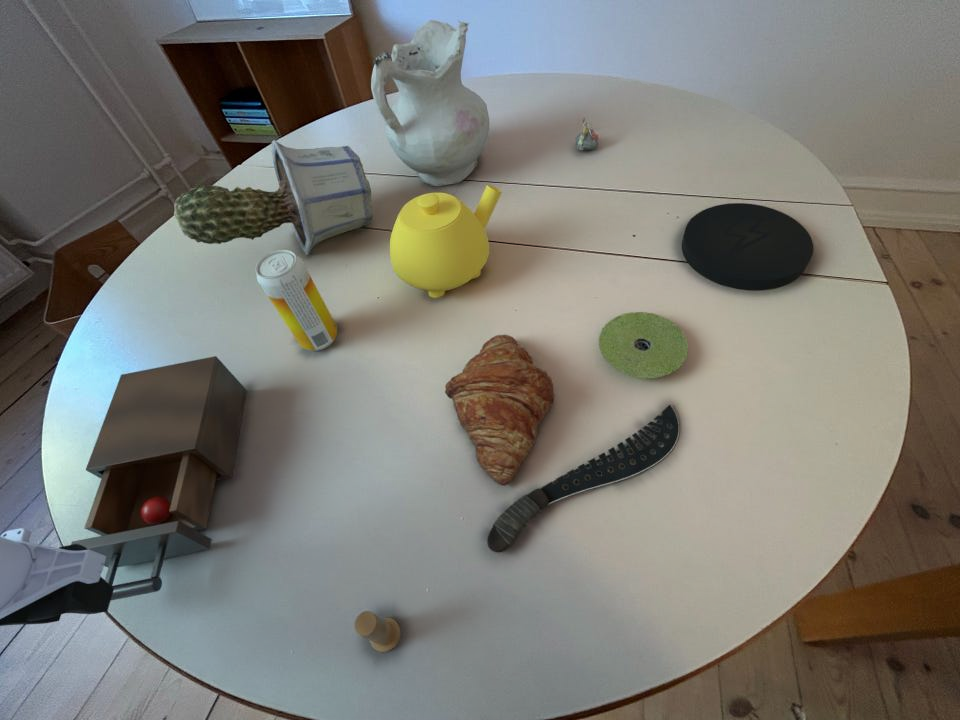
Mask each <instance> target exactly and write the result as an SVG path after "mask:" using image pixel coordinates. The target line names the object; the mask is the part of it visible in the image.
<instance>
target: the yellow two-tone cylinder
mask: <svg viewBox="0 0 960 720" xmlns="http://www.w3.org/2000/svg"><path fill="white" fill-rule="evenodd" d="M255 273H256V280H257V282H258V283H259V285H260V286H261V288H262V290H263V291H264V293H265V294H266V297H268V299H269V300H270V302H271V303H272V305H273V307H274V308H275V309H276V311H277V313H278V314H279V316H280V317H281V318H282V320H283V322H284V324H285V325H286V326H287V328H288V329H289V331H290V332H291V334H292V336H293V337H294V338H295V341H296V342H297V343H298V345H299V346H300V347H301V348H302V349H304V350H308V351H315V352H317V351H322V350H324V349H326V348H328V347H330V346H331V345H332V344H333V343H334V341H335V339H336V338H337V335H338V326H337V323H336V322H335V320H334V317H333V316H332V314H331V313H330V310H329V309H328V307H327V305H326V303H325V301H324V299H323V297H322V296H321V294H320V292H319V290H318V288H317V286H316V284H315V282H314V280H313V279H312V276H311V275H310V273H309V271H308V268H307V267H306V265H305V264H304V262H303V260H302V258H301V257H300V256H298V255H296V254H295V252H294V251H291V250H289V249H278V250H277V249H276V250H274V251H271V252H268V253H267V254H265V255H264V256H262V257H261V258H259V260H258V261H257V263H256V264H255Z"/></svg>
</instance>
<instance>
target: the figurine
mask: <svg viewBox="0 0 960 720" xmlns="http://www.w3.org/2000/svg"><path fill="white" fill-rule="evenodd" d="M582 123H583V125H582V126H583V128H582V132H580V133H578V134H577V135H576V136H575V145H576V147H577V150H578V151H585V150H587V151H589V150H592V151H593V150H595V149H596V148H597V146H598V141H599V134H598V133H596V132H597V130H595V129H594V128H593V127H592V126H590V125H589V122H588V121H587V118H586V117H584V118H583V119H582Z"/></svg>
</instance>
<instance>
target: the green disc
mask: <svg viewBox="0 0 960 720" xmlns="http://www.w3.org/2000/svg"><path fill="white" fill-rule="evenodd" d="M688 345H689V344H688V341H687V338H686V336H685V334H684V333H683V332H682V330H681V328H680V327H679V326H678V325H676V324H675V323H674V322H672V321H671V320H669V319H668V318H666V317H664V316H662V315H659V314H656V313H653V312H648V311H647V312H645V311H636V312H626V313H623V314H620V315H618V316H616V317H613V318H612V319H611V320H609V321H608V322H607V323H606V324H605V325H604V326H603V327H602V329H601V331H600V333H599V337H598V346H599V351H600V353H601V354H602V357H603V358H604V360H605V361H606V362H607V363H608V364H609V365H610V366H612V368H614V369H615V370H617V371H619V372H621V373H623V374H625V375H627V376H630V377H634V378H639V379H649V380H650V379H656V378H661V377H665V376H667V375H671V374H672V373H674V372H676V371H677V370H679V368H680V367H681V366H682V365H683V364H684V363H685V361H686V358H687V356H688V351H689V347H688Z"/></svg>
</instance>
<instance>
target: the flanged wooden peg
mask: <svg viewBox="0 0 960 720" xmlns="http://www.w3.org/2000/svg"><path fill="white" fill-rule="evenodd" d="M354 631H355V632H356V634H357V635H359V636H360V637H363V638H364V639H366V640H368V641H369V642H370V645H371V647H372V648H373V649H374V650H376V651H377V652H379V653H388V652H390V651H392V650H394V649H395V648H396V647H397V645H398V644H399V641H400V639H401V627H400V624H399V623H398V621H396V620H395V619H393V618H392V617H389V616H388V617H380V616H379V615H377V614H375V613H374V612H372V611H370V610H365V611H362V612H361V613H359V614H358V615H357V617H356V619H355V620H354Z"/></svg>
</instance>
